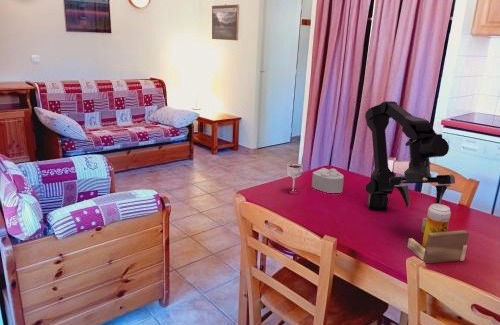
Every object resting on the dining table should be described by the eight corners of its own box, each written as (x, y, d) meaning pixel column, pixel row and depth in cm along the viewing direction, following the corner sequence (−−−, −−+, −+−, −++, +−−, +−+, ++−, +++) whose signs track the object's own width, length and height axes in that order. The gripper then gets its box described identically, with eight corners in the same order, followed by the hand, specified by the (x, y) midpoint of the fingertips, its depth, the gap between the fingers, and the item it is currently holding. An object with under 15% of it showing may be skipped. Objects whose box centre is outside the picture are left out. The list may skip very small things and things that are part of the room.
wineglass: (282, 190, 165) (283, 164, 161) (295, 188, 168) (297, 162, 164) (290, 196, 159) (292, 168, 156) (304, 194, 162) (306, 167, 158)
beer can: (433, 258, 115) (441, 212, 111) (417, 248, 121) (424, 204, 116) (447, 254, 118) (456, 209, 113) (430, 244, 123) (438, 201, 118)
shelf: (391, 233, 130) (395, 209, 127) (424, 230, 132) (428, 207, 130) (427, 264, 112) (432, 236, 109) (464, 260, 115) (470, 233, 112)
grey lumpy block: (321, 182, 176) (323, 164, 173) (347, 190, 168) (349, 171, 165) (308, 188, 168) (310, 169, 166) (335, 196, 160) (337, 177, 158)
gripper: (381, 160, 124) (384, 208, 123) (443, 156, 111) (447, 210, 111) (394, 160, 132) (397, 206, 132) (453, 156, 120) (457, 206, 119)
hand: (422, 207), depth 123 cm, fingers open, 9 cm apart
